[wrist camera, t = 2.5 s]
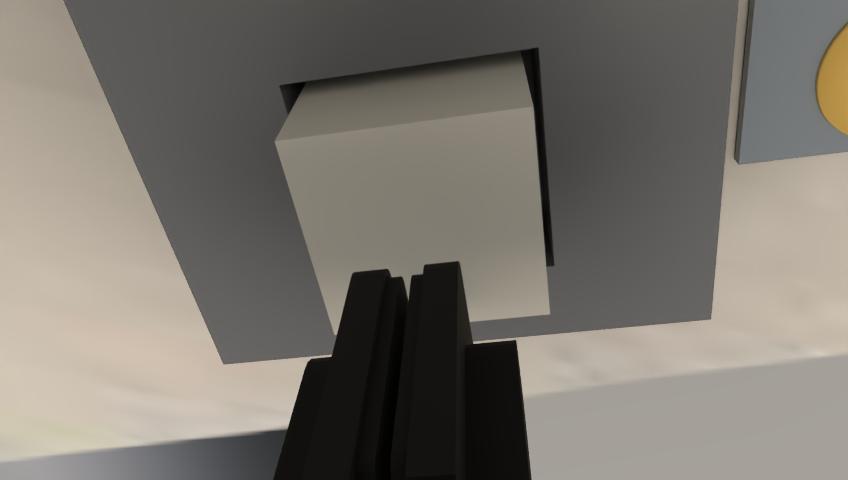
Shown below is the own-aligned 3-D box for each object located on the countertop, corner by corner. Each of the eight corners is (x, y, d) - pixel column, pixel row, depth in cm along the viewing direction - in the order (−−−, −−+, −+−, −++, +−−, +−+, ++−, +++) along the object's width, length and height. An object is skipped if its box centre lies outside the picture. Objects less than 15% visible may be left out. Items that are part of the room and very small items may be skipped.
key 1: (307, 79, 14) (274, 141, 12) (520, 48, 14) (533, 106, 11) (353, 252, 16) (334, 334, 14) (536, 232, 16) (549, 314, 13)
